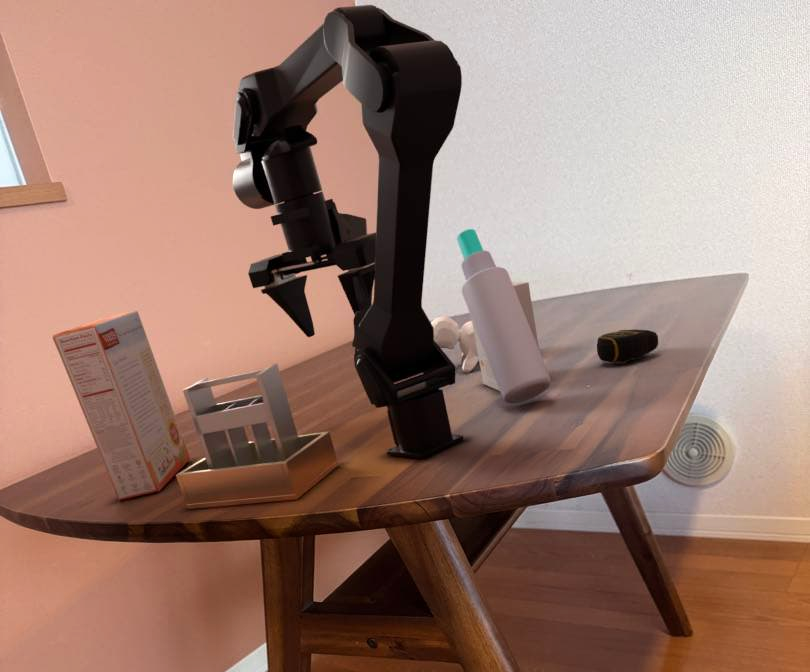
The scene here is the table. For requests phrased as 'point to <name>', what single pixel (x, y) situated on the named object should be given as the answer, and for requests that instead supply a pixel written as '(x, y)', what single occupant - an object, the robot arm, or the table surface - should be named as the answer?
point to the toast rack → (243, 421)
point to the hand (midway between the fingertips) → (338, 332)
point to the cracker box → (124, 402)
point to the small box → (526, 304)
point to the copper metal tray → (260, 476)
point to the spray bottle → (501, 324)
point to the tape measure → (626, 345)
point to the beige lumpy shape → (457, 339)
